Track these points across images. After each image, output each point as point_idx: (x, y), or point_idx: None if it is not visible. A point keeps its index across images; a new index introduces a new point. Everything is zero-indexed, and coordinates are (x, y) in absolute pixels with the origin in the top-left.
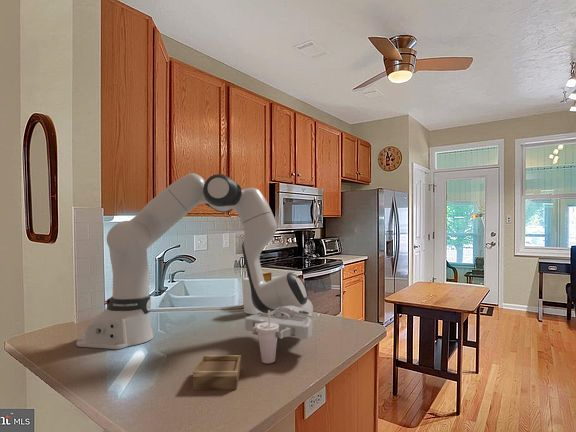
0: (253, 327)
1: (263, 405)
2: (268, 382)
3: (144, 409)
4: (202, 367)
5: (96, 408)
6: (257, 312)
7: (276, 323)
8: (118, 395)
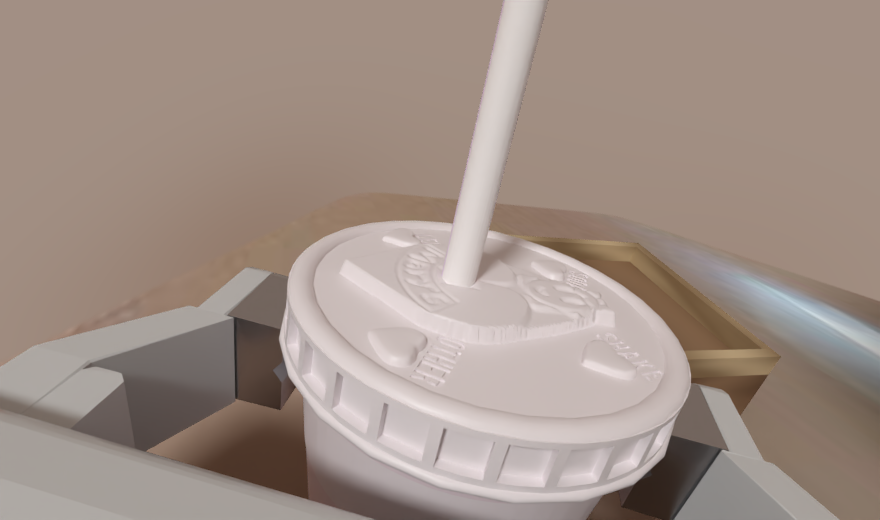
0: (731, 402)
1: None
2: None
3: None
4: (672, 306)
5: (735, 254)
6: None
7: (347, 344)
8: (768, 286)
